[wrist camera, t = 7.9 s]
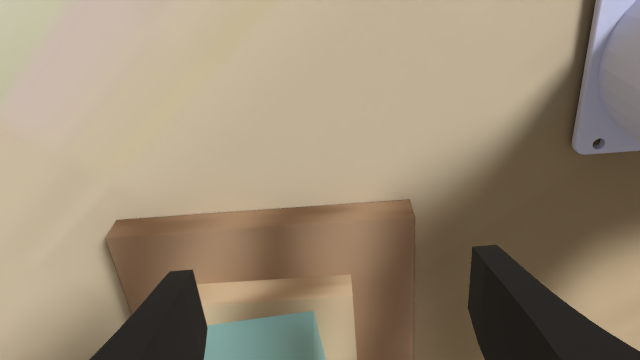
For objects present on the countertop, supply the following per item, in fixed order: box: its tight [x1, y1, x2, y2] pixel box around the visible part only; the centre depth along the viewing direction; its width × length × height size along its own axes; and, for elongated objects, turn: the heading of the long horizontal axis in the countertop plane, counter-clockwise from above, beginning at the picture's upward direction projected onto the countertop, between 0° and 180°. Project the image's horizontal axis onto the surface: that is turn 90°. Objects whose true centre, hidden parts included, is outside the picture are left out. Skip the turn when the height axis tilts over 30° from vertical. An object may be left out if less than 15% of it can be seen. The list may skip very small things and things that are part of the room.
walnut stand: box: [105, 200, 415, 360], centre depth 27 cm, size 14×14×3 cm
